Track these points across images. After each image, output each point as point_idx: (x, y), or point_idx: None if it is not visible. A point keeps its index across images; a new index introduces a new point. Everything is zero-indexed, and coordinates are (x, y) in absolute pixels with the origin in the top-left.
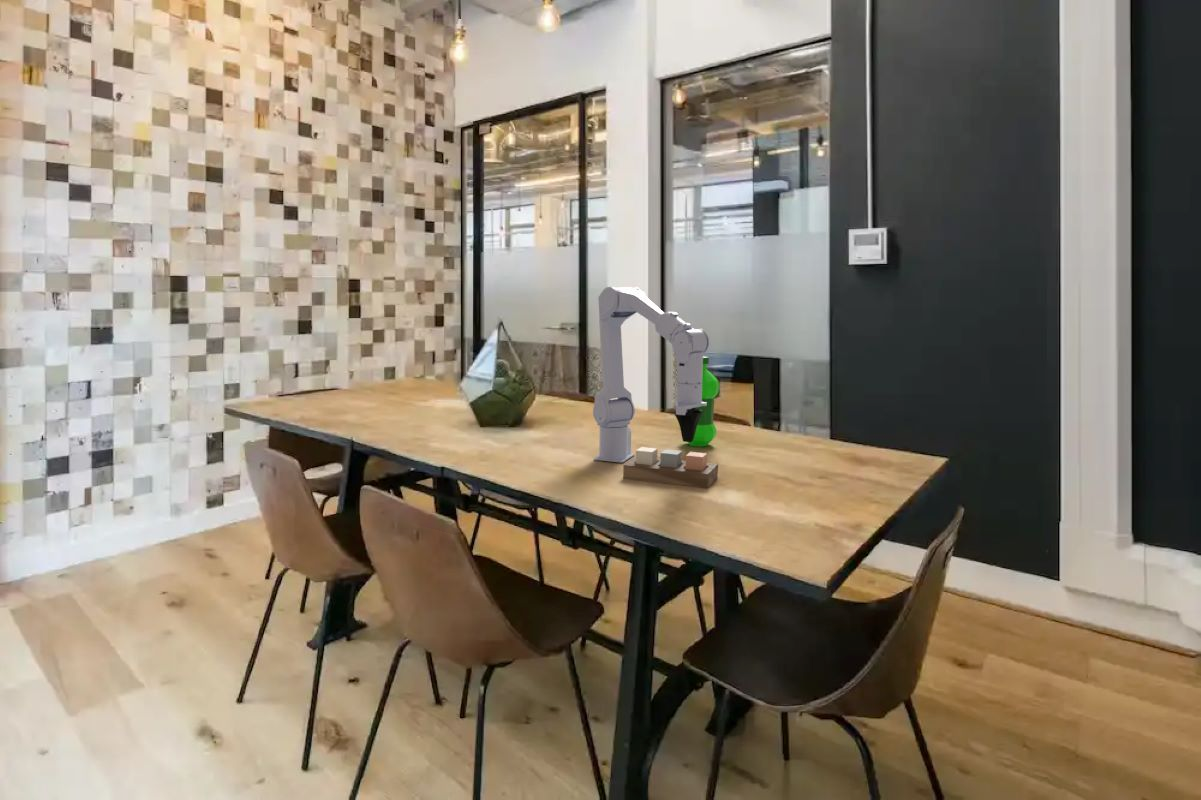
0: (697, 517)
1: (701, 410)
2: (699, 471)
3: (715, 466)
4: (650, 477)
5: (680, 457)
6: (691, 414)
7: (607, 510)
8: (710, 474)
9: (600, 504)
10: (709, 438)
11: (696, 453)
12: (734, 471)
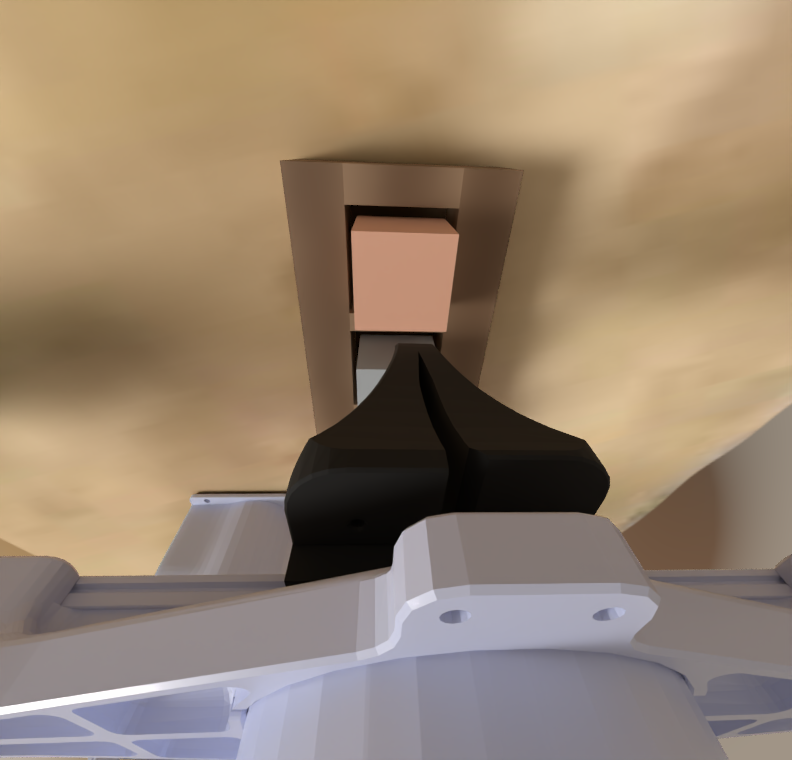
0: None
1: (353, 481)
2: (479, 229)
3: (343, 164)
4: None
5: (380, 355)
6: (591, 510)
7: (765, 402)
8: (462, 167)
9: (706, 428)
10: None
11: (379, 291)
12: (119, 81)
